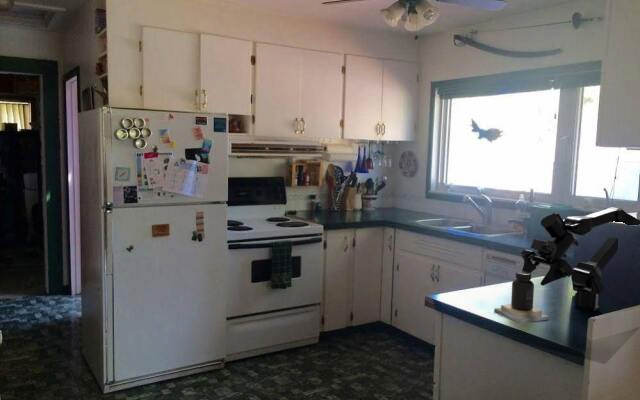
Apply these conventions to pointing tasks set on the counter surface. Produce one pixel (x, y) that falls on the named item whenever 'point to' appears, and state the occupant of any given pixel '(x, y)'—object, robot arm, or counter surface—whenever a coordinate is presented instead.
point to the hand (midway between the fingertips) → (531, 281)
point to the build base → (520, 320)
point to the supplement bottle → (522, 291)
